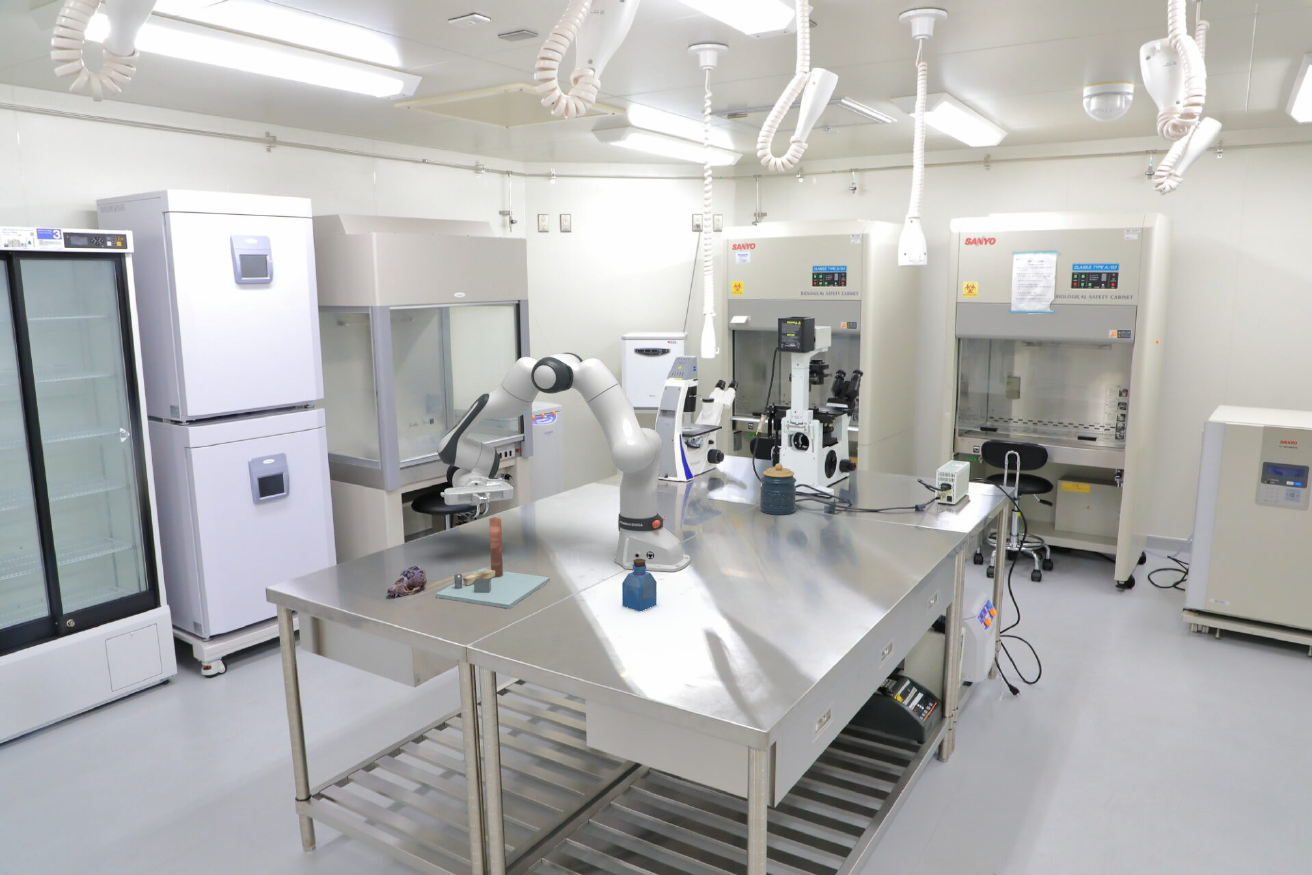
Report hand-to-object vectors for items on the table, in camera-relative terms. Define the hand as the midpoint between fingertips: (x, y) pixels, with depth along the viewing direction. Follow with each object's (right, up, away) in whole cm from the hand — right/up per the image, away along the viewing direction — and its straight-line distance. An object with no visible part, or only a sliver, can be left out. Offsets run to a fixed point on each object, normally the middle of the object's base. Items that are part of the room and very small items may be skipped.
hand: (484, 500), depth 245 cm
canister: (+94, -9, +66) cm, 115 cm away
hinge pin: (-3, -23, -17) cm, 29 cm away
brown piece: (+2, -21, -11) cm, 24 cm away
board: (+6, -23, -15) cm, 28 cm away
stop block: (+4, -23, -20) cm, 31 cm away
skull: (-18, -23, -17) cm, 34 cm away
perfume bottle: (+45, -25, -27) cm, 58 cm away
